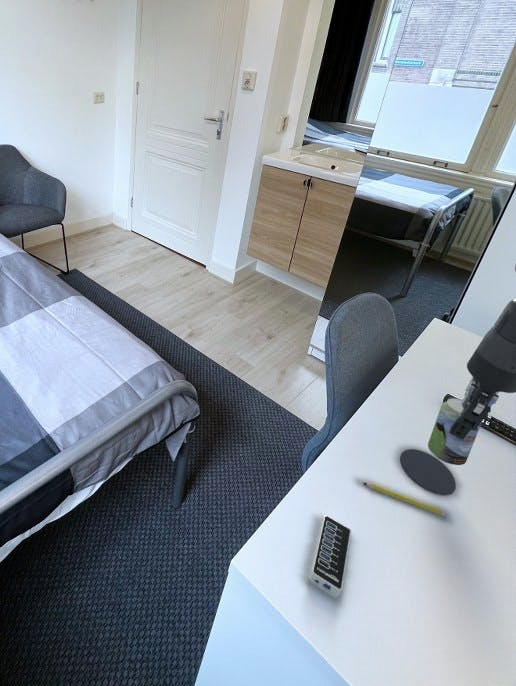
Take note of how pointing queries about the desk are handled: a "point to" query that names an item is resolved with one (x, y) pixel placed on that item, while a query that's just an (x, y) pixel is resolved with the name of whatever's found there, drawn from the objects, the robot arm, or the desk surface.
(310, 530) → the desk surface
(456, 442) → the beverage can
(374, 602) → the desk surface
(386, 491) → the pencil
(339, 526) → the multiport hub
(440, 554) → the desk surface
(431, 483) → the coaster
